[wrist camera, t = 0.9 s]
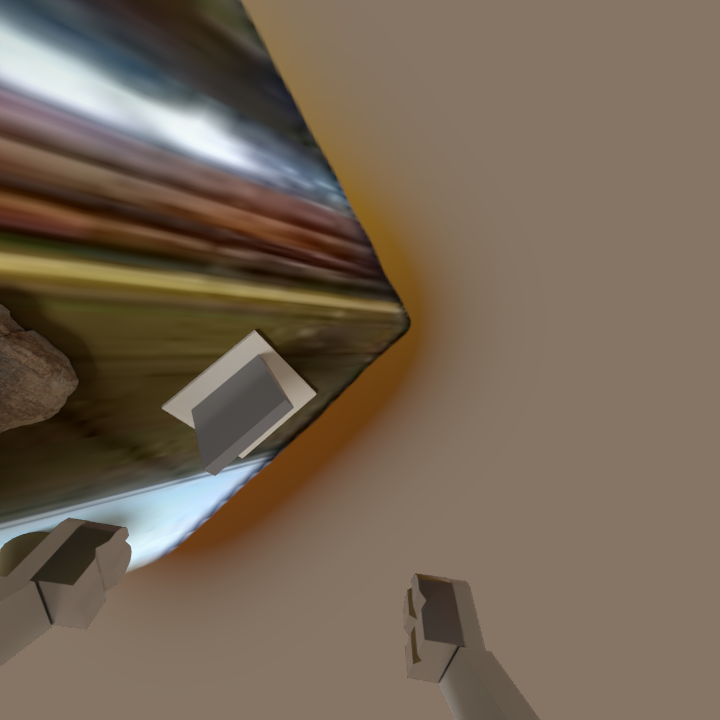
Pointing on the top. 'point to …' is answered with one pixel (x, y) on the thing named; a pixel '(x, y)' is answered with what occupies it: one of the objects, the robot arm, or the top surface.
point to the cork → (18, 550)
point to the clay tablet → (30, 375)
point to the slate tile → (238, 414)
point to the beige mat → (228, 367)
